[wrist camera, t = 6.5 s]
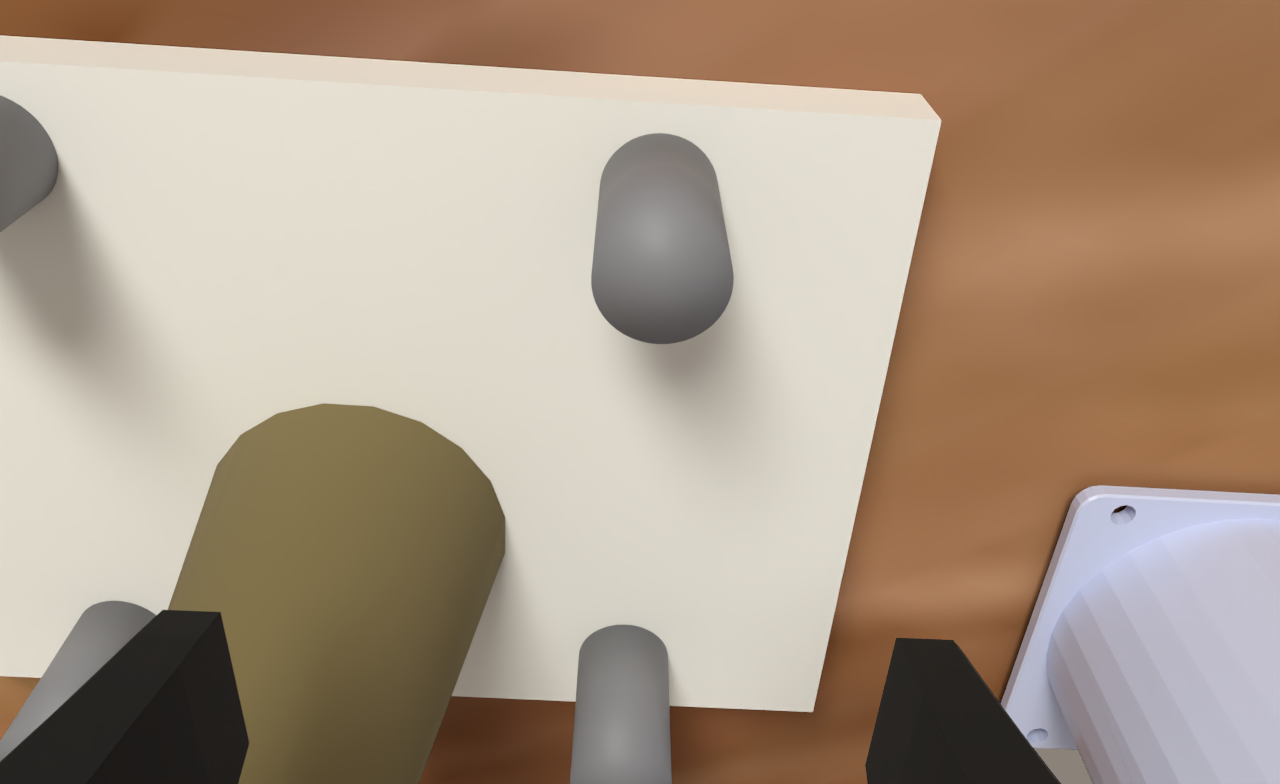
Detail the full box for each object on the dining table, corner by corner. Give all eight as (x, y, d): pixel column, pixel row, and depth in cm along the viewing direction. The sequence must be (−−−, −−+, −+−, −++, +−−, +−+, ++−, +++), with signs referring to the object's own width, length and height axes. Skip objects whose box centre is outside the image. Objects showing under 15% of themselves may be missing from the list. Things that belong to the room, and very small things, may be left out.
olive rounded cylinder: (430, 670, 24) (292, 1275, 14) (168, 564, 22) (-180, 1172, 13) (559, 487, 21) (492, 1090, 12) (271, 351, 19) (-76, 926, 10)
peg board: (920, 93, 18) (1005, 199, 14) (804, 664, 26) (837, 846, 21) (-253, 19, 18) (-537, 106, 13) (-27, 625, 25) (-164, 806, 21)
